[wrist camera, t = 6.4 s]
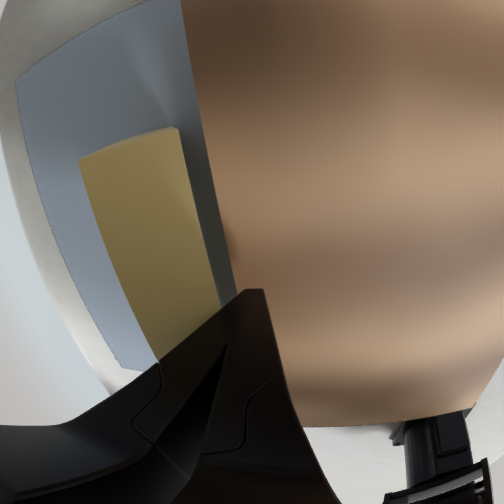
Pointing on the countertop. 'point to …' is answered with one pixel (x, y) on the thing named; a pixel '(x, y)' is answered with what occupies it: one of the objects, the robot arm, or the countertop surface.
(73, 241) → the mat
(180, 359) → the robot arm
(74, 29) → the countertop surface
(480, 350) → the deck
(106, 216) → the block
